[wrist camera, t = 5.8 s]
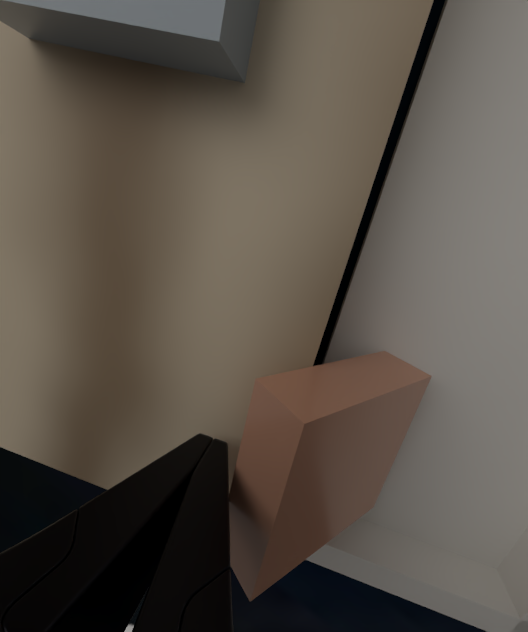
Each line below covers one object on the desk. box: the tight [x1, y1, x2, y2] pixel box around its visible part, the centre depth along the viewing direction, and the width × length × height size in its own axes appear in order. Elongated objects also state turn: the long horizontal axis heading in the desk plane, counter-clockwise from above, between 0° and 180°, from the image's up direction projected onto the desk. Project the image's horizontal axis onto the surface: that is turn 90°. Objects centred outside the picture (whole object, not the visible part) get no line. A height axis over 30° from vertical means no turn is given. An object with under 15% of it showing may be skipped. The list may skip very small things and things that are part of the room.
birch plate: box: [0, 0, 434, 492], centre depth 9 cm, size 12×18×3 cm, turn 166°
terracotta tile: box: [229, 351, 432, 602], centre depth 8 cm, size 5×5×2 cm
